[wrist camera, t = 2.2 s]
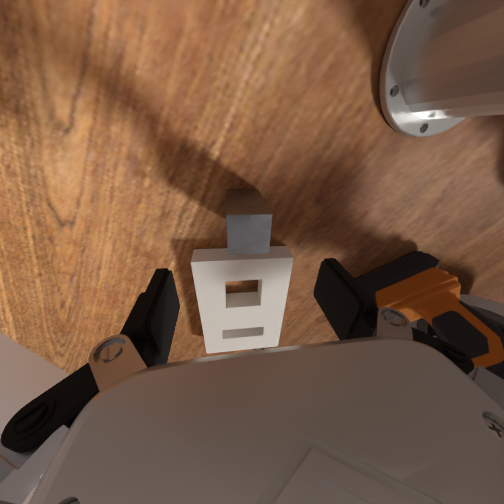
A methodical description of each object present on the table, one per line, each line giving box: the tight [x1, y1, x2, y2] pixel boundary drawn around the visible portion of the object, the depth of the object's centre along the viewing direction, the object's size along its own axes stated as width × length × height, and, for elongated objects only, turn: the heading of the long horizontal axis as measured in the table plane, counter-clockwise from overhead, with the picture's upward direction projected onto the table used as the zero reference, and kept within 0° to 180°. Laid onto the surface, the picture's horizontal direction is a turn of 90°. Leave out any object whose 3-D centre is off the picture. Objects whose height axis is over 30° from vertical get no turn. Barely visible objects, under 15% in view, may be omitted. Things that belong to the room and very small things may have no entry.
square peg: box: [226, 190, 273, 255], centre depth 20 cm, size 4×4×8 cm
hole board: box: [191, 246, 294, 353], centre depth 30 cm, size 20×13×3 cm, turn 178°
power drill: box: [355, 251, 504, 380], centre depth 23 cm, size 22×7×25 cm, turn 120°
